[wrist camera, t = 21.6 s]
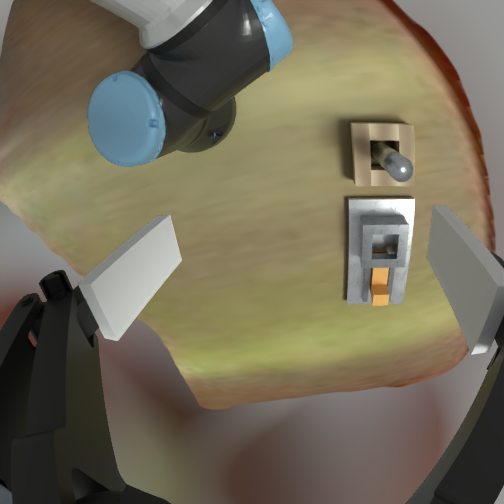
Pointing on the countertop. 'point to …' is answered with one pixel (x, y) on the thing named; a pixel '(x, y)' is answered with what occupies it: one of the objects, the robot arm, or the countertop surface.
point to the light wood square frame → (362, 156)
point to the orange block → (379, 285)
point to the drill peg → (393, 162)
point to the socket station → (379, 244)
